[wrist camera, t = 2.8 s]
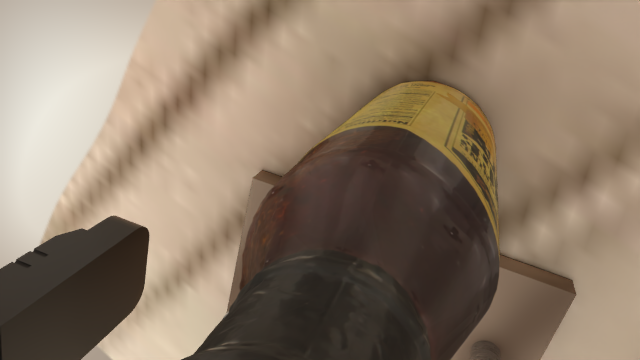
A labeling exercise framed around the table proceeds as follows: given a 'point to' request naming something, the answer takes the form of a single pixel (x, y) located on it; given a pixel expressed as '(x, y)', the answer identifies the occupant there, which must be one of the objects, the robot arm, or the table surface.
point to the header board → (506, 308)
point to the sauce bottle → (373, 239)
